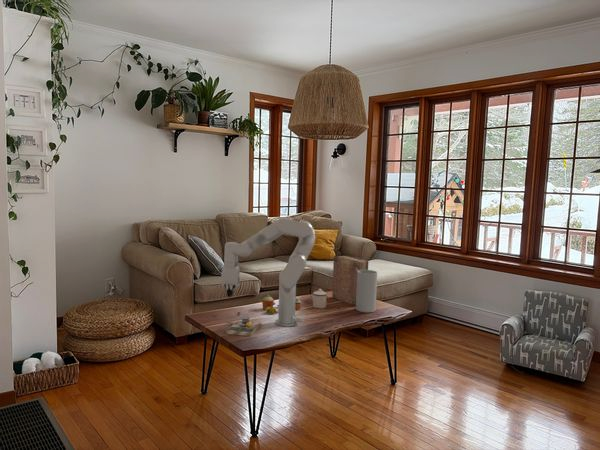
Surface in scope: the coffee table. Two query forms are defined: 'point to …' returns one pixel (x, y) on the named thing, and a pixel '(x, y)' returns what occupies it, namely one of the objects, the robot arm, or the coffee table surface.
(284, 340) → the coffee table surface
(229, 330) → the stand
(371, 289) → the cylinder vase
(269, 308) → the toy tea set
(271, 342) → the coffee table surface
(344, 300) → the book
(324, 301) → the teacup with lid
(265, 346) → the coffee table surface
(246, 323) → the ball-knob lever handle
